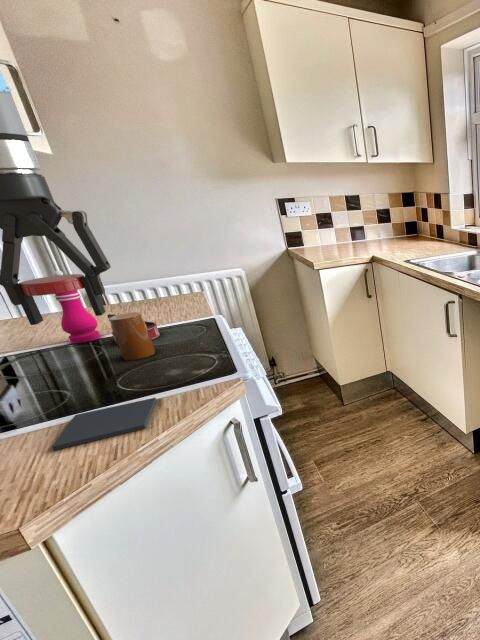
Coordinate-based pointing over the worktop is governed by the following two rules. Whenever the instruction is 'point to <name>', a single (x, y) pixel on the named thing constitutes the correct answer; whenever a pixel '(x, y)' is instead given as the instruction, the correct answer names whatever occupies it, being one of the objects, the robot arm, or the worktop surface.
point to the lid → (52, 285)
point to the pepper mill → (76, 317)
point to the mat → (106, 423)
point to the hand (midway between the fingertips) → (69, 317)
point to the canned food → (150, 327)
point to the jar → (132, 336)
